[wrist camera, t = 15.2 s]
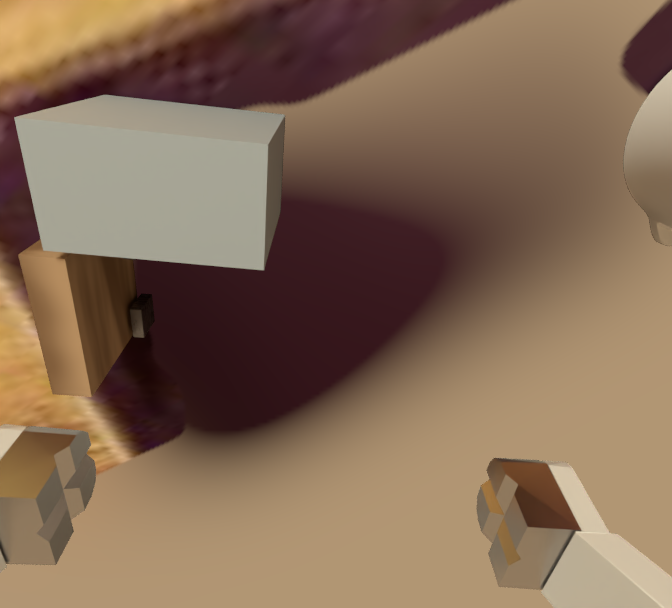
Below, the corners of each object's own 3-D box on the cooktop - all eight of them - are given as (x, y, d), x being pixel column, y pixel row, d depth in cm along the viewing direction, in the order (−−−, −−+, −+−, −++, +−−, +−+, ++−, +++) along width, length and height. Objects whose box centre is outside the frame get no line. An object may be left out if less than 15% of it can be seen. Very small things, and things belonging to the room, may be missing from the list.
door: (126, 207, 41) (64, 258, 31) (140, 323, 47) (91, 396, 37) (79, 202, 41) (2, 253, 31) (99, 320, 46) (39, 393, 37)
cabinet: (285, 114, 37) (268, 144, 27) (280, 211, 41) (263, 270, 31) (104, 94, 36) (14, 117, 26) (117, 195, 40) (43, 250, 30)
